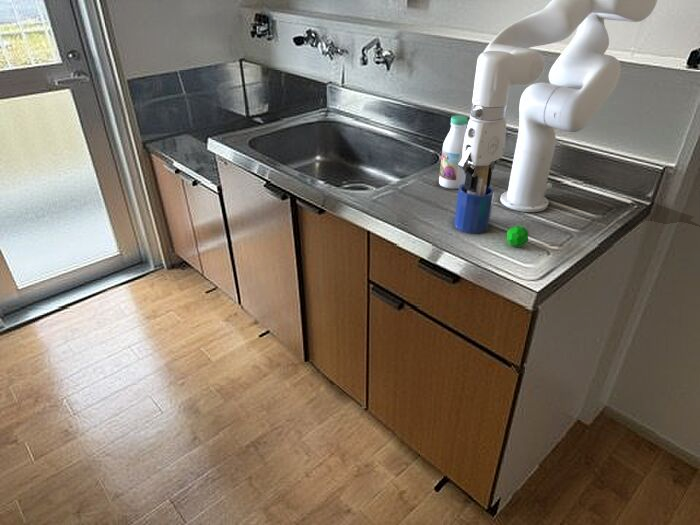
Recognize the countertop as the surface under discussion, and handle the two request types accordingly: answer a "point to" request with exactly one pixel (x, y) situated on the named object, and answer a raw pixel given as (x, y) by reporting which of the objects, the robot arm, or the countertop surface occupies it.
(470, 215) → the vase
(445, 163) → the milk bottle
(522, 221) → the countertop surface
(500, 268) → the countertop surface
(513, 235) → the polyhedron
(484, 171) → the sprinkles bottle
